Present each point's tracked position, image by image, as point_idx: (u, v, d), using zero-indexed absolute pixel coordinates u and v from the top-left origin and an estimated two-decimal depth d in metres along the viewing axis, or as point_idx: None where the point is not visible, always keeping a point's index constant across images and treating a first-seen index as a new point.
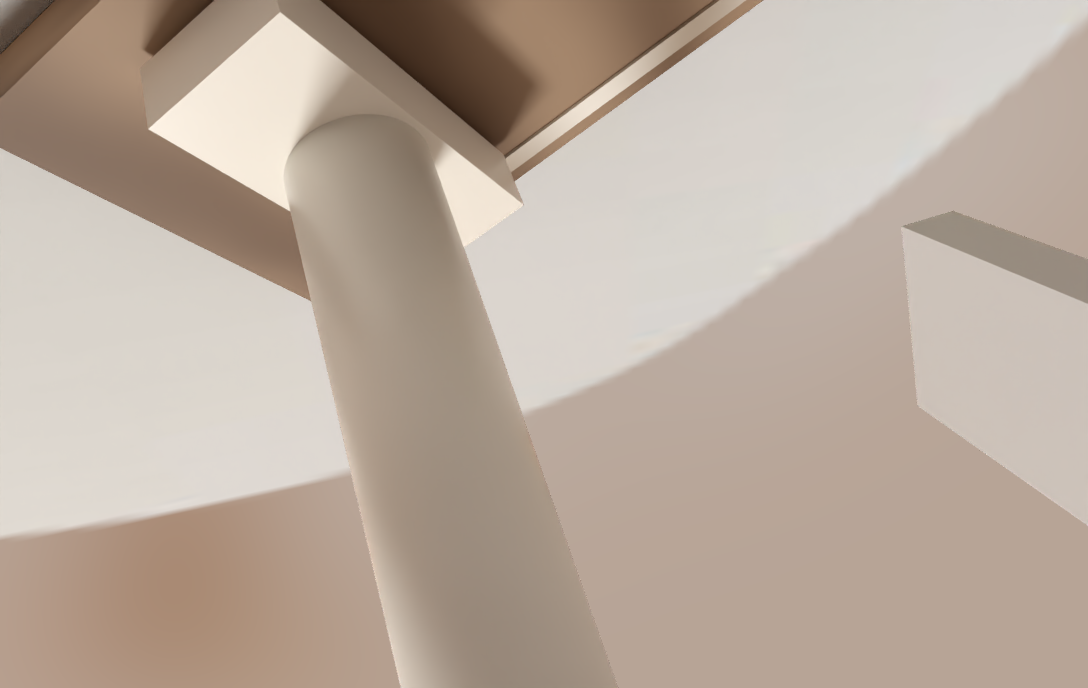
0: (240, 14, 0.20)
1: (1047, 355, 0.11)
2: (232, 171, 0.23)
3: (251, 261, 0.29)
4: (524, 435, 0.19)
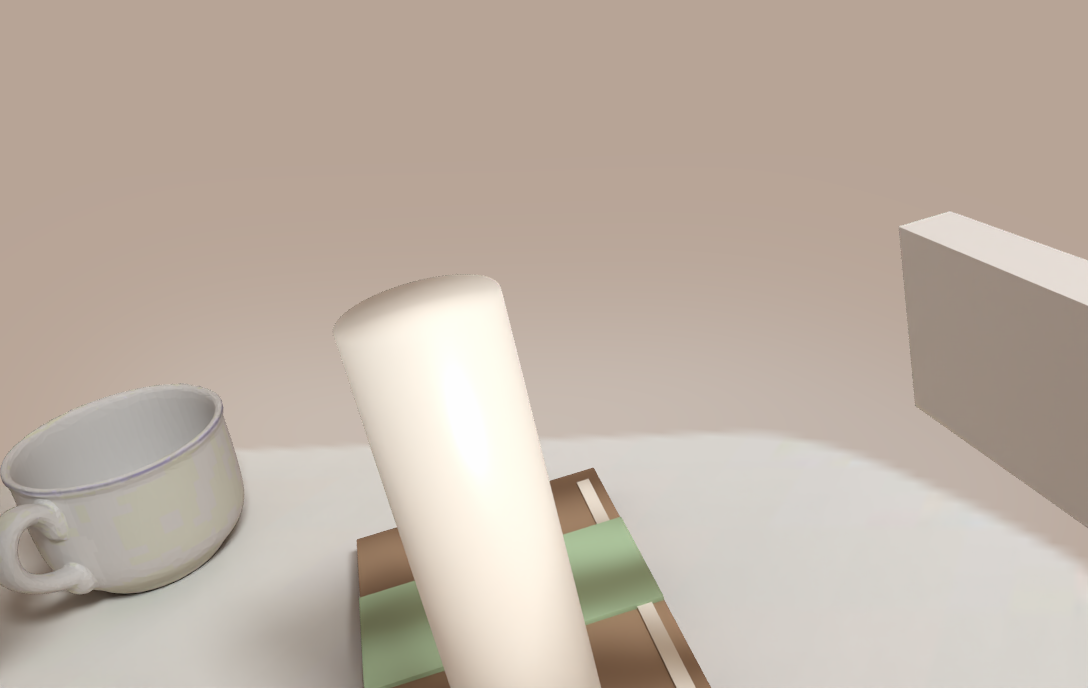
0: None
1: (1044, 355, 0.11)
2: None
3: None
4: None
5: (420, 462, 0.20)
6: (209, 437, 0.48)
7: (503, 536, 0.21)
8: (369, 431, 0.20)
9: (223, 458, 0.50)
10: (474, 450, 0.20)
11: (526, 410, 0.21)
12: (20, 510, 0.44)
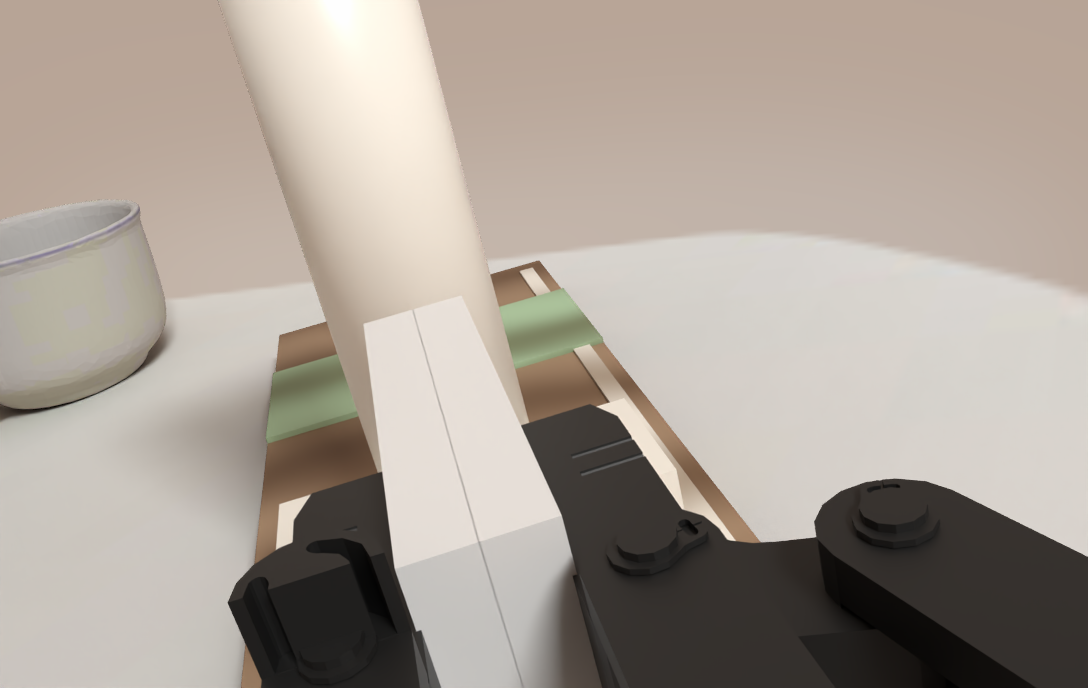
0: None
1: None
2: None
3: None
4: None
5: None
6: (120, 232, 0.44)
7: None
8: None
9: (138, 260, 0.46)
10: None
11: None
12: None
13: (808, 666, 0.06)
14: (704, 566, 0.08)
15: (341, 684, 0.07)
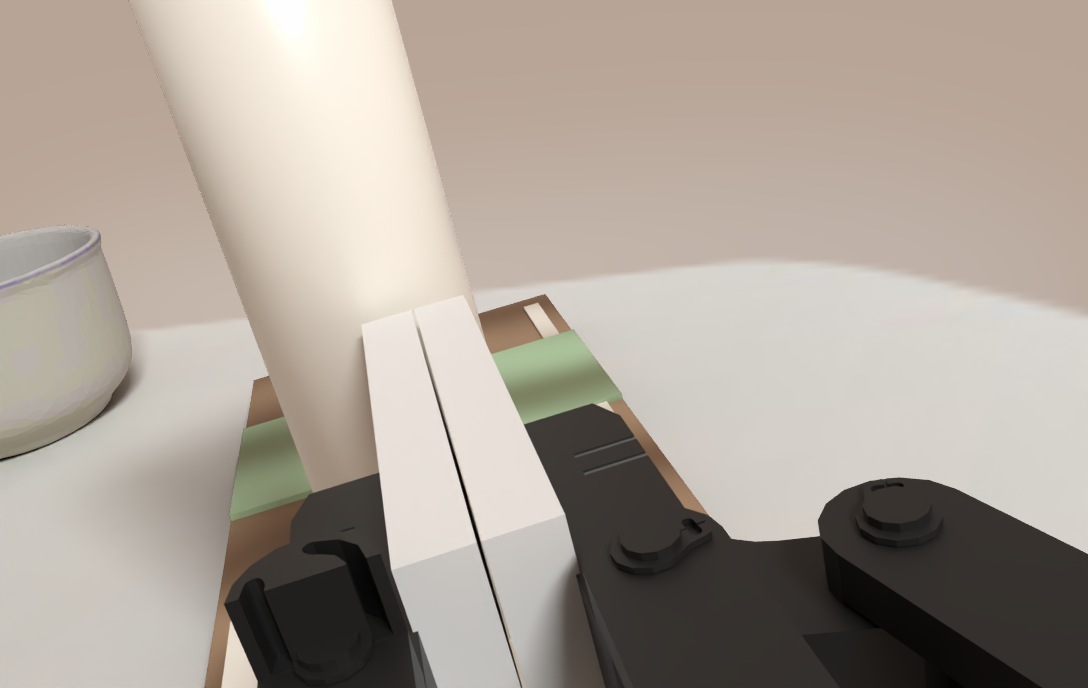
0: None
1: None
2: None
3: None
4: None
5: None
6: (76, 264, 0.40)
7: None
8: None
9: (98, 295, 0.41)
10: None
11: None
12: None
13: (811, 665, 0.06)
14: (707, 565, 0.08)
15: (337, 685, 0.07)
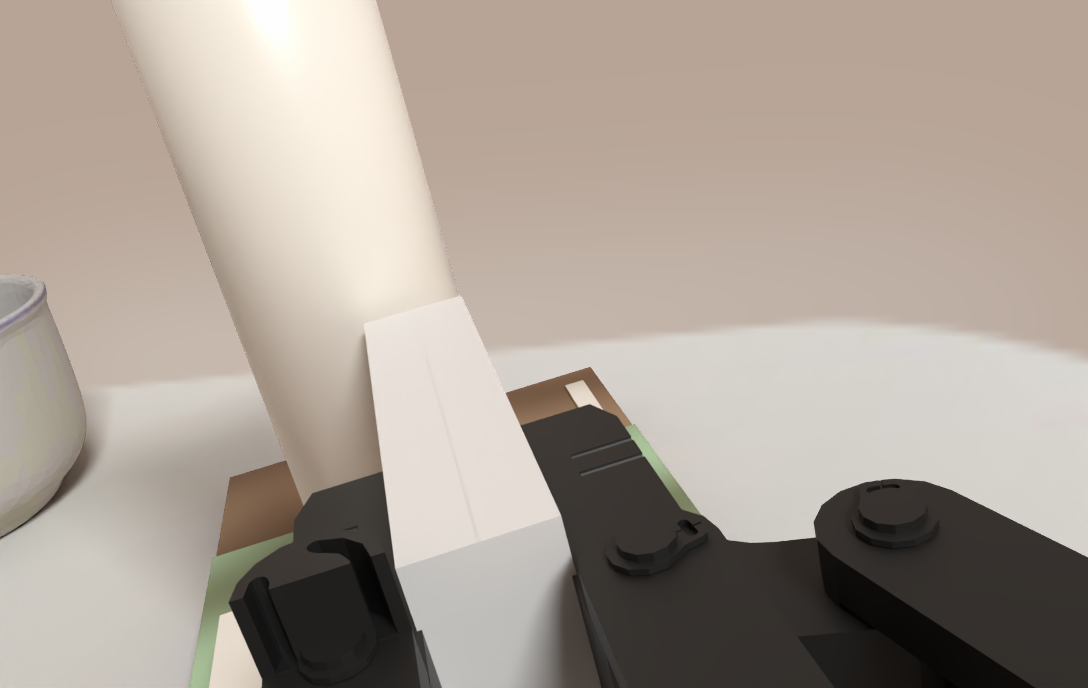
0: None
1: None
2: None
3: None
4: None
5: None
6: (11, 330, 0.32)
7: None
8: None
9: (40, 366, 0.33)
10: None
11: None
12: None
13: (808, 666, 0.06)
14: (703, 566, 0.08)
15: (341, 684, 0.07)
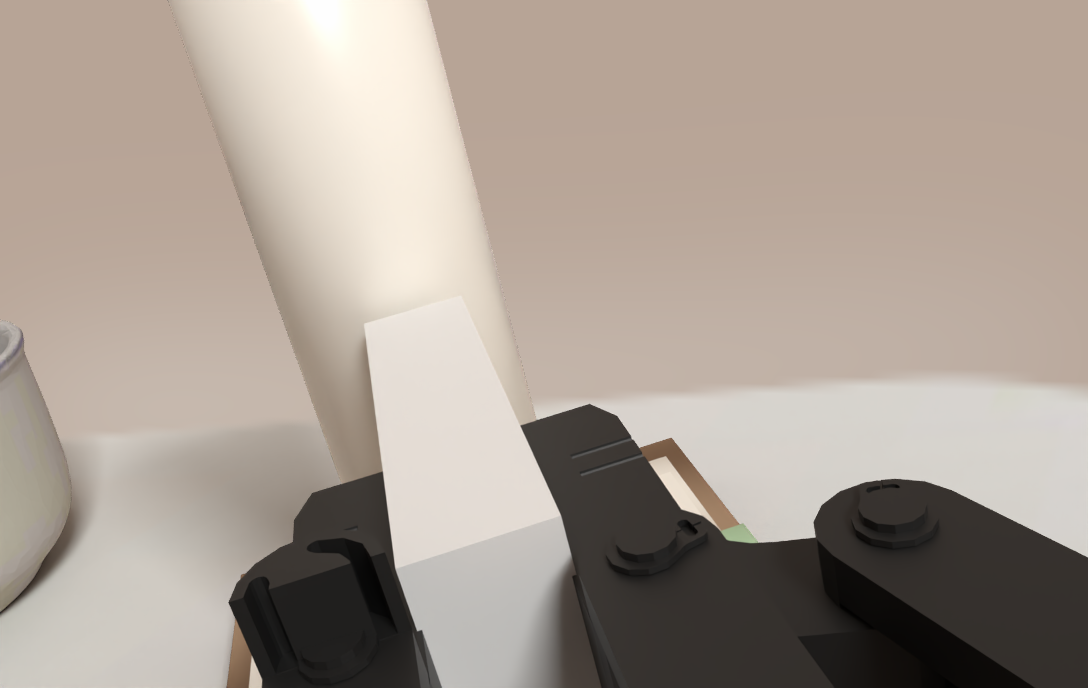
0: None
1: None
2: None
3: None
4: None
5: None
6: None
7: None
8: None
9: (14, 433, 0.28)
10: None
11: None
12: None
13: (807, 666, 0.06)
14: (703, 566, 0.08)
15: (341, 684, 0.07)
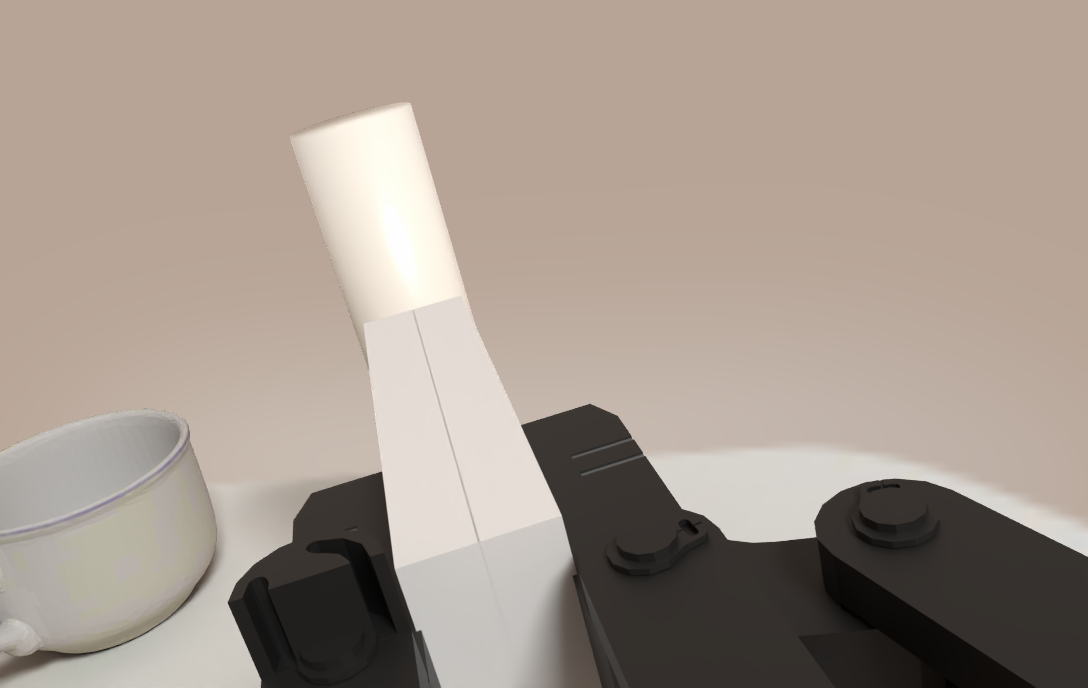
0: None
1: None
2: None
3: None
4: None
5: (353, 226, 0.28)
6: (171, 467, 0.42)
7: (418, 286, 0.28)
8: (317, 209, 0.28)
9: (189, 492, 0.43)
10: (391, 216, 0.28)
11: (432, 195, 0.29)
12: None
13: (807, 666, 0.06)
14: (703, 566, 0.08)
15: (341, 684, 0.07)
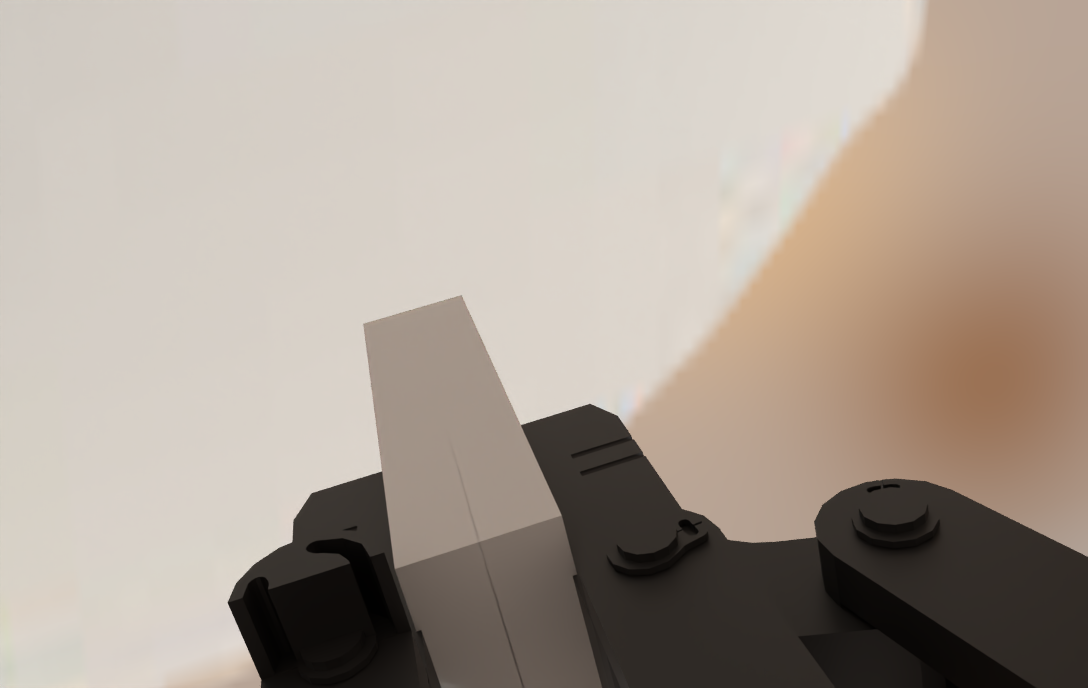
0: None
1: None
2: None
3: None
4: None
5: None
6: None
7: None
8: None
9: None
10: None
11: None
12: None
13: (808, 665, 0.06)
14: (704, 565, 0.08)
15: (341, 684, 0.07)
